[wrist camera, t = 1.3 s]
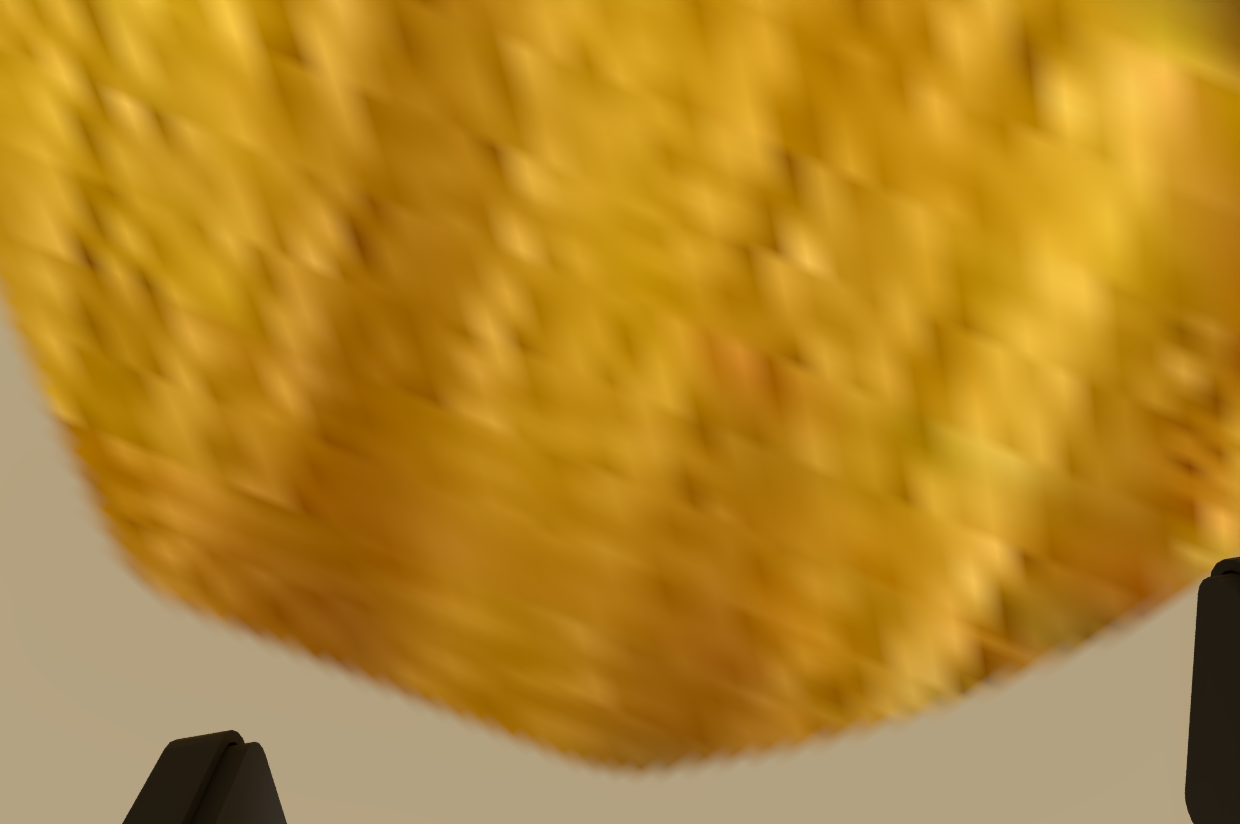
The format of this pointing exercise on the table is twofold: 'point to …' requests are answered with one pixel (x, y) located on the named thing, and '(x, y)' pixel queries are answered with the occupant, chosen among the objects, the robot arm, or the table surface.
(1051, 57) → the table surface
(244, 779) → the robot arm
